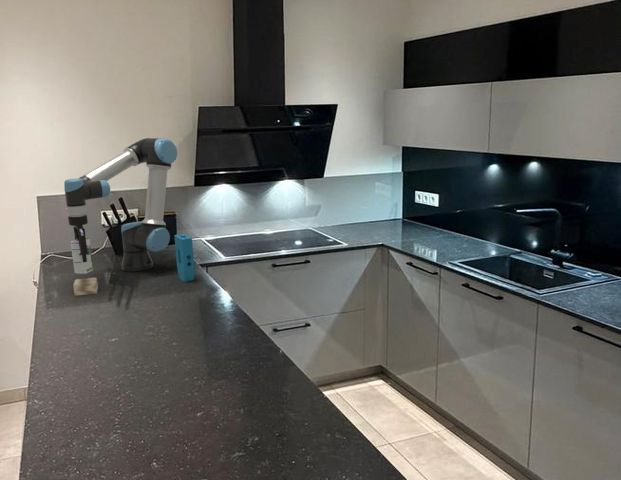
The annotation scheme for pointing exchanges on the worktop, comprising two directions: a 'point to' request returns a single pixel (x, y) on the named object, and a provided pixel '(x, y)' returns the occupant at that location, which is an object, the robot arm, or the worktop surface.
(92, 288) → the birch block
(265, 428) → the worktop surface
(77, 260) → the syrup box
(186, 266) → the block
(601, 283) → the worktop surface
